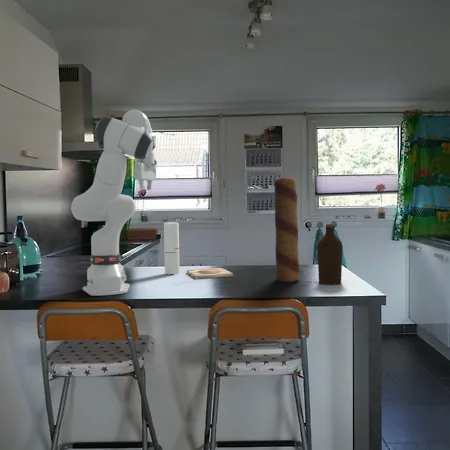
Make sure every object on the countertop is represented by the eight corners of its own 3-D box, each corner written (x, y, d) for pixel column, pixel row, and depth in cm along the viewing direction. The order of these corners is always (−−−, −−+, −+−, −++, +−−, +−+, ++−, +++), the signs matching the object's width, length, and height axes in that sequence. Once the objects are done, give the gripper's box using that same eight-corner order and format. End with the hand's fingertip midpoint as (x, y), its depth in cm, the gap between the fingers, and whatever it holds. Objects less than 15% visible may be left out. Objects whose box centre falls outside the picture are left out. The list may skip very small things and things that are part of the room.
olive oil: (345, 284, 194) (345, 224, 193) (319, 285, 194) (319, 225, 193) (339, 280, 205) (339, 223, 203) (315, 280, 205) (314, 223, 204)
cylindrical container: (182, 273, 230) (181, 222, 228) (171, 275, 224) (170, 223, 223) (173, 272, 235) (172, 222, 233) (161, 274, 229) (160, 223, 228)
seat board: (233, 276, 219) (233, 272, 219) (195, 279, 214) (195, 275, 213) (221, 270, 236) (221, 267, 236) (186, 273, 231) (186, 269, 231)
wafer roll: (270, 280, 207) (269, 178, 205) (284, 277, 215) (283, 178, 213) (289, 283, 200) (288, 177, 198) (303, 279, 208) (302, 177, 206)
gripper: (143, 158, 213) (144, 189, 214) (158, 162, 233) (158, 189, 234) (130, 159, 215) (131, 189, 215) (145, 162, 235) (146, 190, 235)
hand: (145, 189), depth 225 cm, fingers open, 8 cm apart
